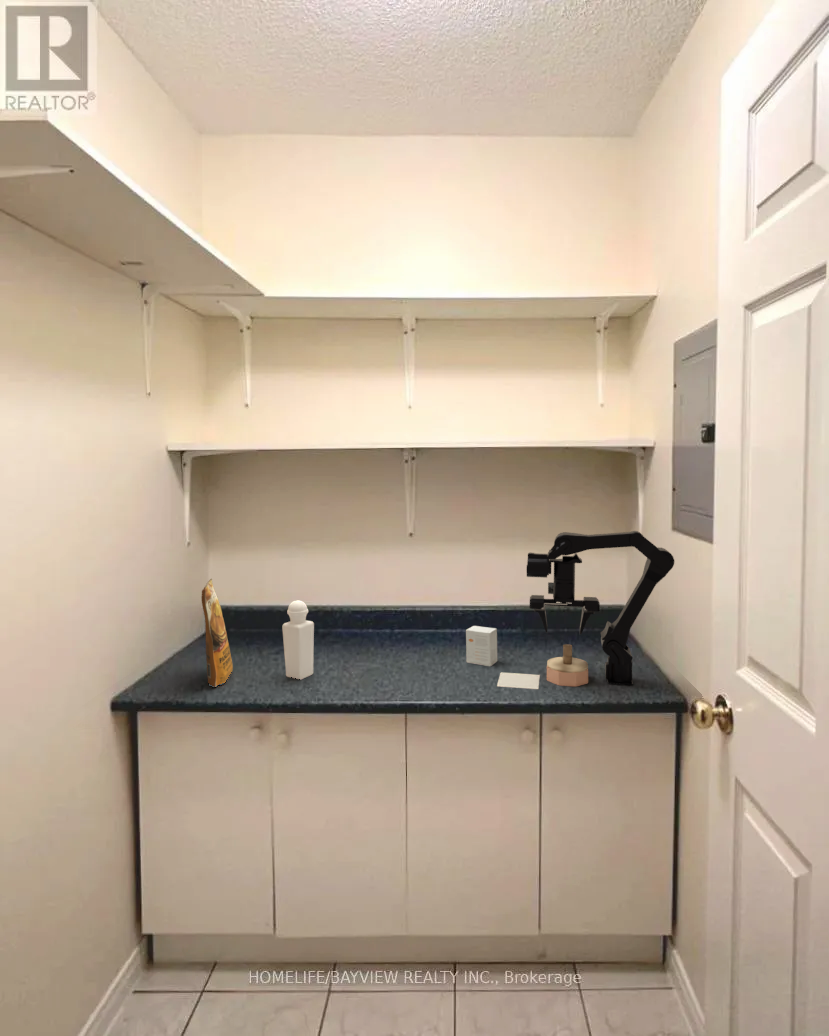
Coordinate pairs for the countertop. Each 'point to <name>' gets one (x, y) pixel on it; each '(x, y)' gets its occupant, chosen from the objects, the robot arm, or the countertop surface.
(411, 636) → the countertop surface
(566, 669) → the lid
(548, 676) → the bowl
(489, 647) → the small box
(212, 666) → the pancake mix bag
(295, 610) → the white square bottle
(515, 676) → the mat
